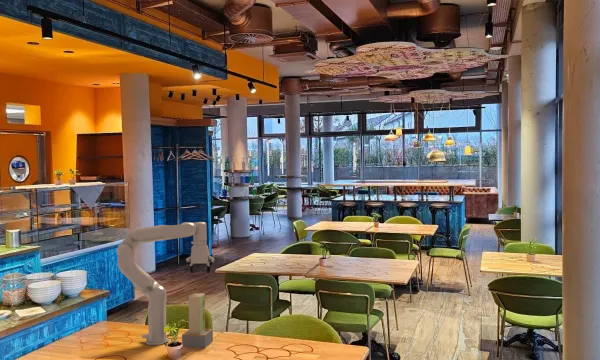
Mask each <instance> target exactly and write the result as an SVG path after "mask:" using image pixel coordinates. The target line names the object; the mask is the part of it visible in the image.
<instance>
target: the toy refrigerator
mask: <svg viewBox="0 0 600 360" xmlns="http://www.w3.org/2000/svg"><path fill="white" fill-rule="evenodd" d="M205 296H206V294H205V293H201V292H200V293H197V292H196V293H192V294H190V295H188V330H189V334H202V333H203V332H205V329H206V297H205Z"/></svg>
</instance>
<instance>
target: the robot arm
mask: <svg viewBox="0 0 600 360" xmlns="http://www.w3.org/2000/svg"><path fill="white" fill-rule="evenodd" d="M191 236H193V240H191V242H190V243H191V244H192V246H191V250H190V251H191V252H190V255H189V257H187V258H185V261H186V263H187V264H188V266H190V270H189V271H190V273H191V274H194V273H195V264H205V265H206V273H207V274H210V273H211V268H212V265H213V264H214V262H215V259H216V258H214V257H213V256H211V255H210V250H209V246H208V245H207V243H208V242H207V241H208V240H207V239H208V237H207V223H206V222H204V221H199V222H198V221H197V222H187V221H186V222H185V221H183V222H182V223H181V224H174V225H173V224H172V225H168V224H161V225H154V226H148V227H135V228H134V229H132V230H131V231H130V232H129V233H128V235H126V237H125V238H124V239H123V240H122V242H121V243H120V244H119V245H118V246H117V248H116V254H117V266H118V269H119V271H120V272H121V273H122V275H124V276H125V278H127V279H128V280H129V281H130V283H132V285H133V286H134V287H135V288H136V289H137V290H139V291H140V292H141V293H142V294H143V295H144V296H146V298H148V306H147V314H148V316H147V317H148V319H147V321H148V323H147V324H148V329H147V330H148V333H143V334H142V336H141V337H142V339H146V340H145V344H146V345H149V346H160V345H165V344H167V343H166V342H168V341H169V342H170V339H169V338H168V337H167V331H166V332H164V326H165V325H166V326H167V296H168V295H167V291H166V288H165V287H164V286H163V285H161V284H159V282H157V281H156V280H155V279H154V278H153V277H152V276H151V275H150V274H149V273H148V272H146V271H144V269H142V267H140V266H139V265H138V264H137V263H136V262H135V259H134V258H135V255H136V249H137V248H138V247H139V246H140V245H141V244H147V243H152V242H153V243H154V242H159V241H160V242H161V241H168V240H174V239H175V240H176V239H181V238H188V237H191ZM169 342H168V343H169ZM164 343H165V344H164Z"/></svg>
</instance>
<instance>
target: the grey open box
mask: <svg viewBox="0 0 600 360" xmlns="http://www.w3.org/2000/svg"><path fill="white" fill-rule="evenodd" d="M213 332H214V331H213V329H210V328H205V332H203V333H202V334H189V329H188V330H186V331H185V332H183V333H182V334H181V345H182V344H183V347H182V348H194V349H195V348H196V349H198V348H199V349H206V348H207V347H209V345H211V343H213V342H214V339H213V338H214V333H213Z"/></svg>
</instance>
